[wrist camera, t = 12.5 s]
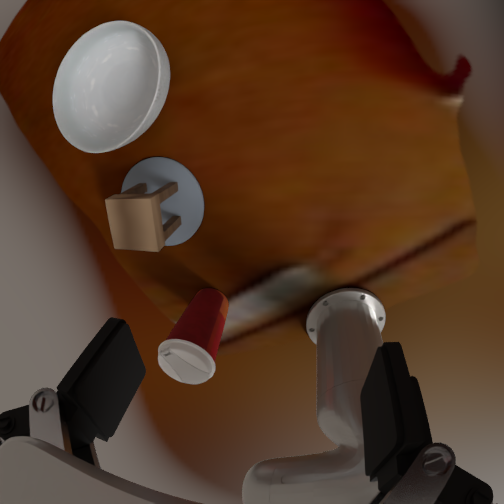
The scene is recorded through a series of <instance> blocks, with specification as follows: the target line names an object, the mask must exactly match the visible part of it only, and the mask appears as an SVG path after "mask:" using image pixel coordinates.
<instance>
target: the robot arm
mask: <svg viewBox="0 0 504 504" xmlns="http://www.w3.org/2000/svg"><path fill="white" fill-rule="evenodd" d="M385 318H386V317H385V310H384V307H383V305H382V303H381V301H380V300H379V299H378V297H376V296H375V295H374V294H373V293H371V292H369V291H366V290H363V289H359V288H343V289H339V290H335V291H332V292H330V293H327V294H326V295H324V296H322V297H321V298H320V299H319V300H317V301H316V302H315V303H314V304H313V306H312V307H311V308H310V311H309V313H308V315H307V320H306V328H307V333H308V335H309V337H310V338H311V340H312V341H313V342H314V343H315V344H316V345H317V421H318V424H319V426H320V428H321V430H322V431H323V432H324V434H325V435H326V436H327V437H328V438H329V439H330V440H331V441H333V442H334V443H335V444H336V445H338V446H339V447H338V448H337V449H334V450H331V451H325V452H323V453H317V454H309V455H301V456H291V457H281V458H273V459H268V460H264V461H261V462H259V463H257V464H255V465H254V466H253V467H252V468H251V469H250V470H249V471H248V472H247V474H246V476H245V479H244V482H243V488H242V498H243V504H493V503H492V501H493V491H492V489H491V487H490V486H489V485H488V484H487V483H485V482H483V481H481V480H480V479H478V478H476V477H475V476H473V475H471V474H469V473H468V472H466V471H465V470H463V469H461V468H460V467H458V466H456V465H455V464H456V457H455V454H454V452H453V450H452V449H451V448H450V447H449V446H448V445H446V444H443V443H433V442H432V437H431V433H430V428H429V423H428V419H427V414H426V410H425V406H424V402H423V398H422V394H421V391H420V387H419V384H418V381H417V379H416V378H415V377H413V376H411V377H410V375H409V371H408V367H407V364H406V361H405V357H404V354H403V350H402V347H401V344H400V343H399V342H384V343H383V341H382V338H381V334H380V333H381V331H382V329H383V327H384V324H385ZM145 373H146V369H145V366H144V364H143V361H142V359H141V356H140V354H139V351H138V349H137V346H136V343H135V341H134V338H133V335H132V333H131V330H130V327H129V325H128V324H126V322H125V320H122V319H117V318H109V319H108V320H107V322H106V323H105V324H104V326H103V327H102V328H101V329H100V330H99V332H98V333H97V334H96V336H95V337H94V338H93V340H92V341H91V342H90V343H89V345H88V346H87V347H86V348H85V350H84V351H83V353H82V354H81V355H80V356H79V358H78V359H77V360H76V362H75V363H74V364H73V366H72V367H71V368H70V370H69V371H68V372H67V374H66V375H65V377H64V378H63V379H62V381H61V382H60V384H59V385H58V386H57V389H58V391H57V392H55V391H54V390H53V389H51V388H42V389H39V390H37V391H36V392H35V393H34V394H33V395H32V397H31V399H30V403H29V405H26V406H23V407H20V408H16V409H12V410H9V411H6V412H3V413H2V414H0V504H202V503H197V502H193V501H189V500H186V499H182V498H178V497H175V496H171V495H168V494H164V493H162V492H158V491H155V490H152V489H149V488H146V487H144V486H141V485H138V484H136V483H133V482H130V481H128V480H125V479H123V478H120V477H118V476H115V475H113V474H111V473H109V472H106V471H104V470H102V469H101V467H100V464H99V461H98V457H97V453H96V450H95V446H94V442H93V441H94V439H95V437H97V438H99V439H102V440H104V441H106V442H107V441H108V438H109V437H112V436H113V435H114V433H115V431H116V429H117V427H118V425H119V423H120V421H121V419H122V417H123V415H124V414H125V412H126V410H127V408H128V406H129V404H130V402H131V400H132V398H133V397H134V395H135V393H136V391H137V389H138V387H139V385H140V384H141V382H142V380H143V378H144V376H145Z"/></svg>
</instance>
